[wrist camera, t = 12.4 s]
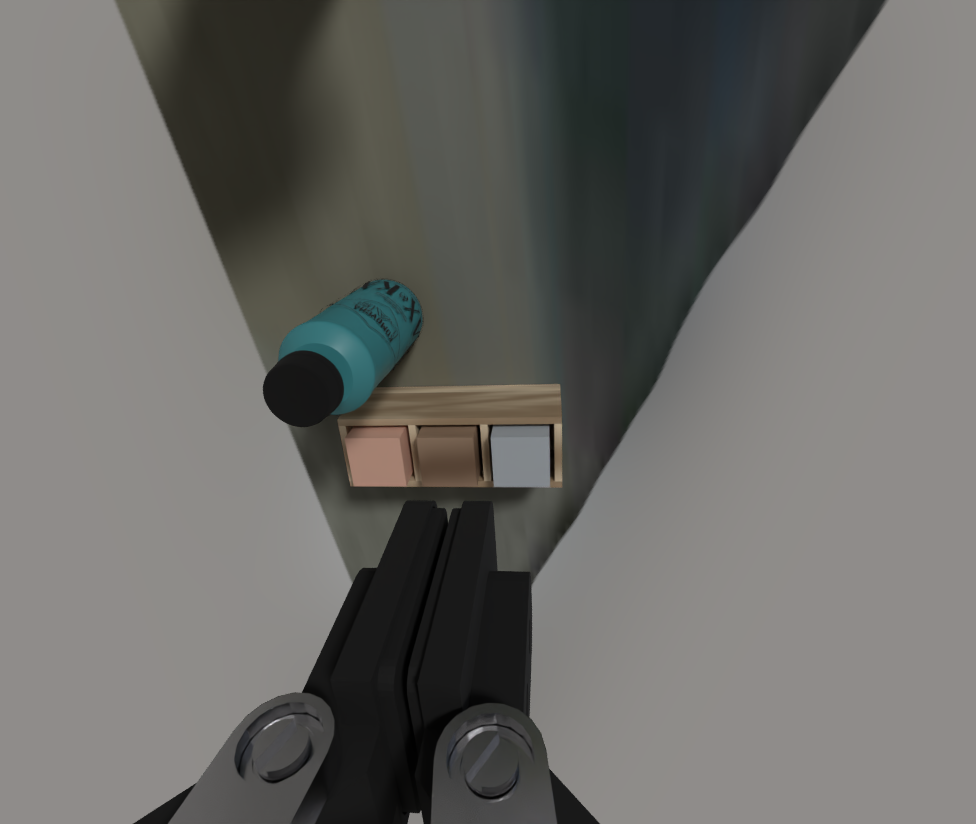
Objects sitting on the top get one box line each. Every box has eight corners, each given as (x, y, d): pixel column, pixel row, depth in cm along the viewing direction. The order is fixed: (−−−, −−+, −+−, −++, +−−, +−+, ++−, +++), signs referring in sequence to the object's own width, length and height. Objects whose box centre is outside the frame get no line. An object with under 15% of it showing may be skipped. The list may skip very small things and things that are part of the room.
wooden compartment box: (363, 387, 50) (337, 419, 44) (560, 384, 48) (561, 417, 42) (373, 448, 53) (350, 486, 47) (560, 447, 51) (561, 487, 45)
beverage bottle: (411, 357, 49) (331, 470, 31) (345, 323, 48) (223, 418, 30) (441, 295, 46) (372, 379, 28) (372, 257, 45) (255, 319, 27)
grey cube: (496, 410, 46) (490, 437, 42) (549, 410, 46) (549, 437, 41) (498, 456, 48) (493, 486, 43) (549, 456, 47) (550, 487, 43)
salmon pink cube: (363, 412, 48) (344, 438, 43) (413, 412, 47) (399, 438, 42) (371, 457, 49) (353, 486, 45) (419, 456, 49) (406, 486, 44)
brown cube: (428, 411, 47) (416, 438, 42) (480, 411, 46) (472, 437, 42) (434, 456, 49) (422, 486, 44) (483, 456, 48) (477, 486, 44)
